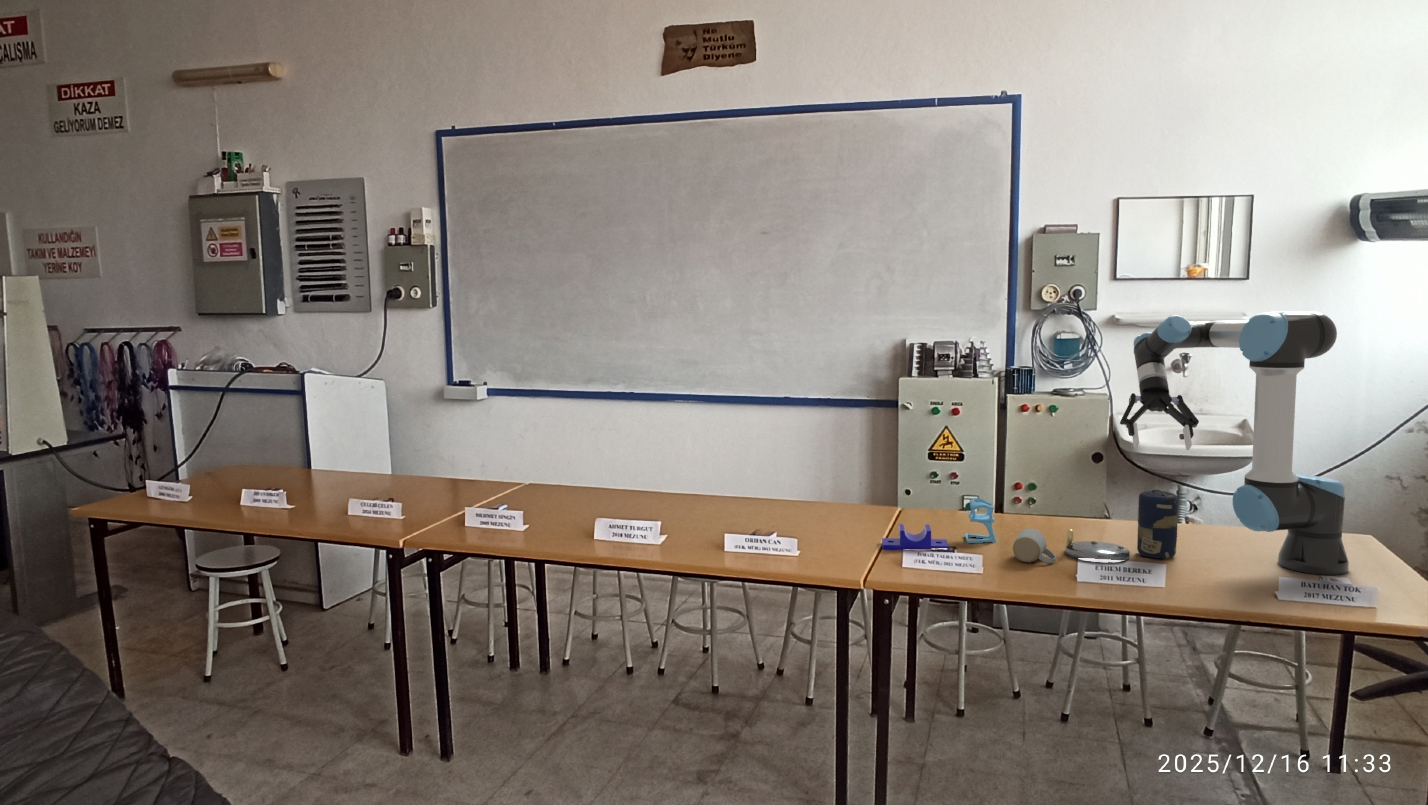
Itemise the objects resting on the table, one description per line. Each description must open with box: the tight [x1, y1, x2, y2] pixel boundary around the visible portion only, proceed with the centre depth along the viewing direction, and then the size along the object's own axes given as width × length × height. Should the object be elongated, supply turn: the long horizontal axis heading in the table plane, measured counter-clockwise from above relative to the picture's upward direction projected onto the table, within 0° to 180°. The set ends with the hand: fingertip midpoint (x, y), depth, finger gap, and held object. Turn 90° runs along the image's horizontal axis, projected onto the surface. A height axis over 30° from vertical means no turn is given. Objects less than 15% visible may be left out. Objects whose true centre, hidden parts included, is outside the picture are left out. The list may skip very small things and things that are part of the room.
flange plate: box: [1065, 528, 1131, 561], centre depth 255 cm, size 16×16×6 cm
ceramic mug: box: [1012, 528, 1057, 564], centre depth 251 cm, size 11×8×8 cm
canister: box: [1136, 488, 1179, 559], centre depth 252 cm, size 10×10×18 cm
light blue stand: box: [964, 498, 997, 544], centre depth 271 cm, size 8×8×12 cm
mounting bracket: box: [881, 523, 950, 551], centre depth 267 cm, size 18×7×6 cm, turn 81°
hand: (1162, 446), depth 262 cm, fingers open, 13 cm apart
